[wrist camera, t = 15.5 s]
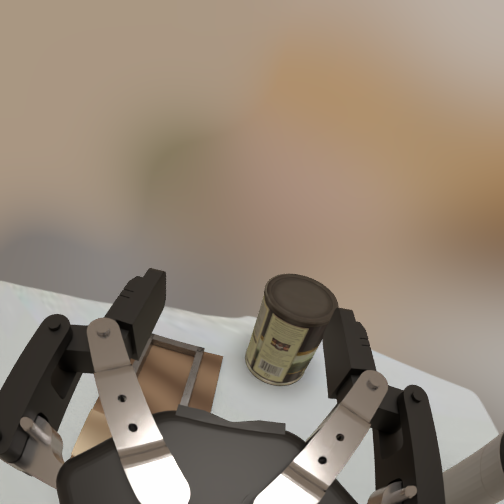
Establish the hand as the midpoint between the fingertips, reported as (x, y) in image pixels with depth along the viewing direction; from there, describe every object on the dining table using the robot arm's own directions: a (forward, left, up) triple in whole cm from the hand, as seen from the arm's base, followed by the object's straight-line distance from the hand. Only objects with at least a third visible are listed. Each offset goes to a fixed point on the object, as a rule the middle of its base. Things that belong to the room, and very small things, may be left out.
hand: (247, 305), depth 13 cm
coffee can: (+18, -12, -27) cm, 35 cm away
